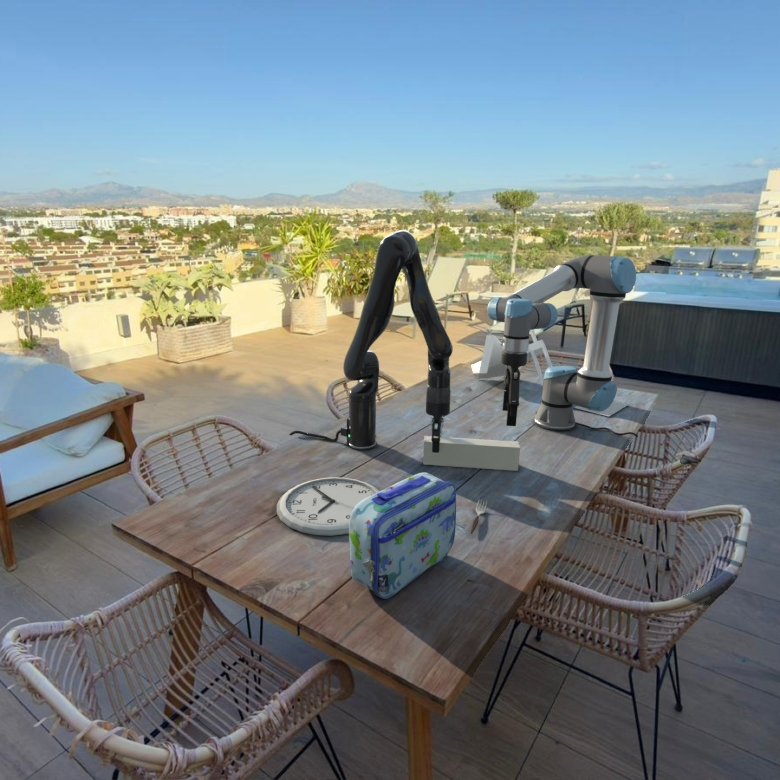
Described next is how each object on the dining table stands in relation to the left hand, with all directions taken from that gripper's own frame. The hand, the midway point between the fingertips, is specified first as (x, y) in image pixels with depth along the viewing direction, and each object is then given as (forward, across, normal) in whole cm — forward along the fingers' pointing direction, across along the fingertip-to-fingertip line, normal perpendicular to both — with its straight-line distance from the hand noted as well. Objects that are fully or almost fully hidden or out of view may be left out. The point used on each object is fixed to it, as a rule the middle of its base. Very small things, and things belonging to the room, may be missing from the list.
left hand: (436, 446), depth 168 cm
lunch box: (+6, +57, -4) cm, 58 cm away
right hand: (-11, -1, +22) cm, 25 cm away
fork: (+6, +33, +13) cm, 36 cm away
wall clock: (+6, +32, -26) cm, 42 cm away
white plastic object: (+5, -94, +31) cm, 99 cm away
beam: (+6, -1, +11) cm, 12 cm away
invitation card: (+6, -70, +67) cm, 97 cm away
